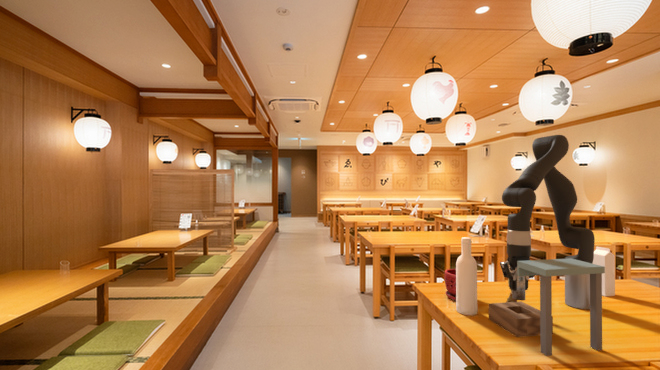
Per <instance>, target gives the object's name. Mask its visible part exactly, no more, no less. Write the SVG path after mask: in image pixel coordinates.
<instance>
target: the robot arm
mask: <svg viewBox="0 0 660 370" xmlns="http://www.w3.org/2000/svg"><path fill="white" fill-rule="evenodd" d="M531 147H532V153H533V155H534V157H535V161H533V162H532V163H530V165H528V166H527V167H526V168H525V169H524V170H523V171H522V173H520V176H519V177H518V179H516V180H515V181H513V182H512V183H511V184H509V185H508V186H506V188H505V189H504V190H503V192H502V194H501V200H502V203H503V204H504V205H505V206H506V207H511V208H520V209H519V211H518V212H515V213H510V214H508V216H507V230H506V254H507V259H506V261H500V263H499V265H500V268H501V271H502V275H503V277H504V278H506V279H507V280H508V279H509V284H508V287H510V289H511V290H513V291H516V277H517V261H526V260H531V258H530V257H531V256H532V236H531V218H532V214H533V211H534V208H535V204H536V202H537V194H536V192H535V191H537V190H538V188H539V186H540V185H541V184H542V181H543V180H544V181H543V182H544V184H545V187H546V192H547V196H548V199H549V201H550V205H551V208H552V210H553V214H554V216H555V217H554V218H555V222H556V227H557V233H558V237H559V241H560V243H561V245H562V246H563V247H565V248H569V249H575V250H578V251H577V254H574V255H568V256H565V257H564V259H570V258H572V259H576V260H580V261H584V262H588V263H593V259H594V251H595V234H594V232H593V230H592V229H590V228H585V227H578V226H576V227H575V226H573V225H572V223H571V215H572V212H573V211H574V208H575V207H576V206H577V203H578V195H577V192H576V189H575V186H574V184H573V182H572V181H571V180H570V179H569V178H568V177H567V176H566V175H564V174H563V173H562V172H561V171H559V170H558V169H557V168H556V165H557V164H558V163H559V162H560V161H561V160H562V159H563V158H564V157H565V156H566V155H567V153H568V152H569V148H570V144H569V141H568V138H567V137H566V136H565V135H563V134H555V135H547V136H541V137H537V138H535V139H534V140H533V141H532V146H531ZM513 270H515V271H513ZM512 275H513V276H512ZM534 277H535V276H525V291H527V290H528V288H529V280H530V279H533V278H534ZM511 290H510V291H511ZM564 304H566V305H567V306H568V307H572V308H575V309H581V310H590V274H581V275H564Z"/></svg>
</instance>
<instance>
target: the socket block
mask: <svg viewBox="0 0 660 370" xmlns="http://www.w3.org/2000/svg"><path fill="white" fill-rule="evenodd" d="M553 318H554V317H553V315H552V335H553V334H554V333H553V332H554V331H553V330H554V325H553V324H554V323H553V320H554V319H553ZM488 320H489V321H491V322H492V323H494V324H496V325H497V326H498V327H501V328H502V329H503V330H505V331H506V332H508V333H509V334H510V335H512V336H515V337H516V338H521V337H533V336H540V309H538V308H536V307H534V306H531V305H530V304H527V303H525V302H523V301H522V300H518V301H517V302H506V301H505V302H493V303H492V302H491V303H488Z"/></svg>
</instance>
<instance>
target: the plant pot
mask: <svg viewBox="0 0 660 370" xmlns="http://www.w3.org/2000/svg"><path fill="white" fill-rule="evenodd" d="M444 284H445V288H446V291H445V296H446V297H447V298H449V299H450V300H451V299H452V301H455V302H456V268H449V269H445V270H444Z"/></svg>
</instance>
